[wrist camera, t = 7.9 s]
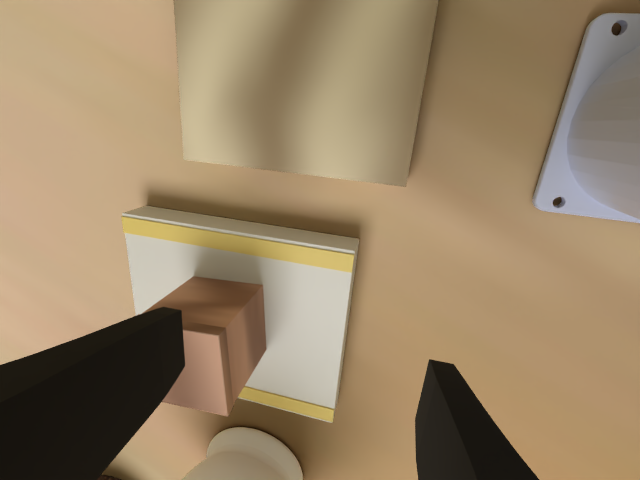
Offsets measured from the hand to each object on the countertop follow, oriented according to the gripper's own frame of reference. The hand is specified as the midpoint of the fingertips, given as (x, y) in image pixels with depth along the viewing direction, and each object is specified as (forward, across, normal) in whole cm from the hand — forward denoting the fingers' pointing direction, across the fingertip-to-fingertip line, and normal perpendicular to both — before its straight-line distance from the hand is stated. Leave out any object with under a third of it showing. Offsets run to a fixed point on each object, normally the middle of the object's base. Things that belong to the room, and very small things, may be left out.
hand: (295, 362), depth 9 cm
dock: (+11, +6, +6) cm, 13 cm away
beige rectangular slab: (+10, +3, -8) cm, 14 cm away
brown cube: (+9, +6, +5) cm, 12 cm away
